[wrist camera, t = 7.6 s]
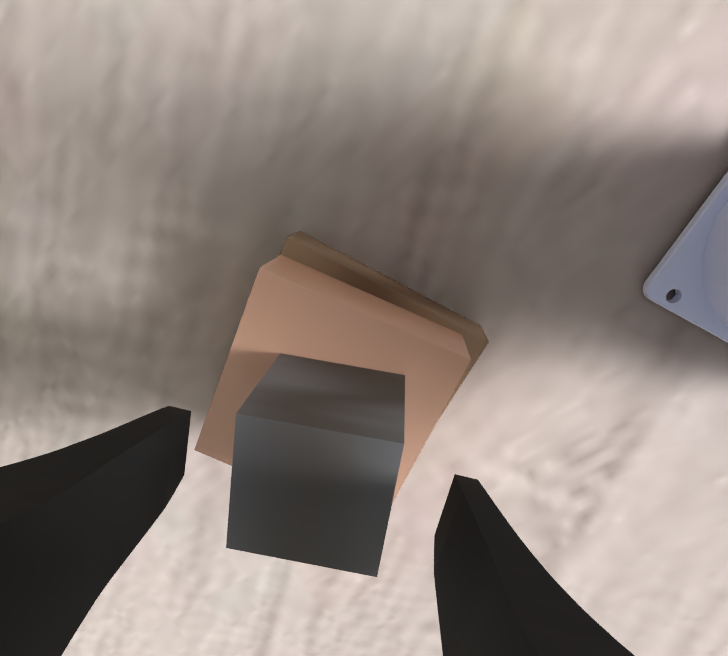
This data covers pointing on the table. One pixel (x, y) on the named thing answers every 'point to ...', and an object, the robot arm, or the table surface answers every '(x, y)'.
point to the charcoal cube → (317, 464)
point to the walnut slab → (384, 291)
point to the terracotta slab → (334, 350)
